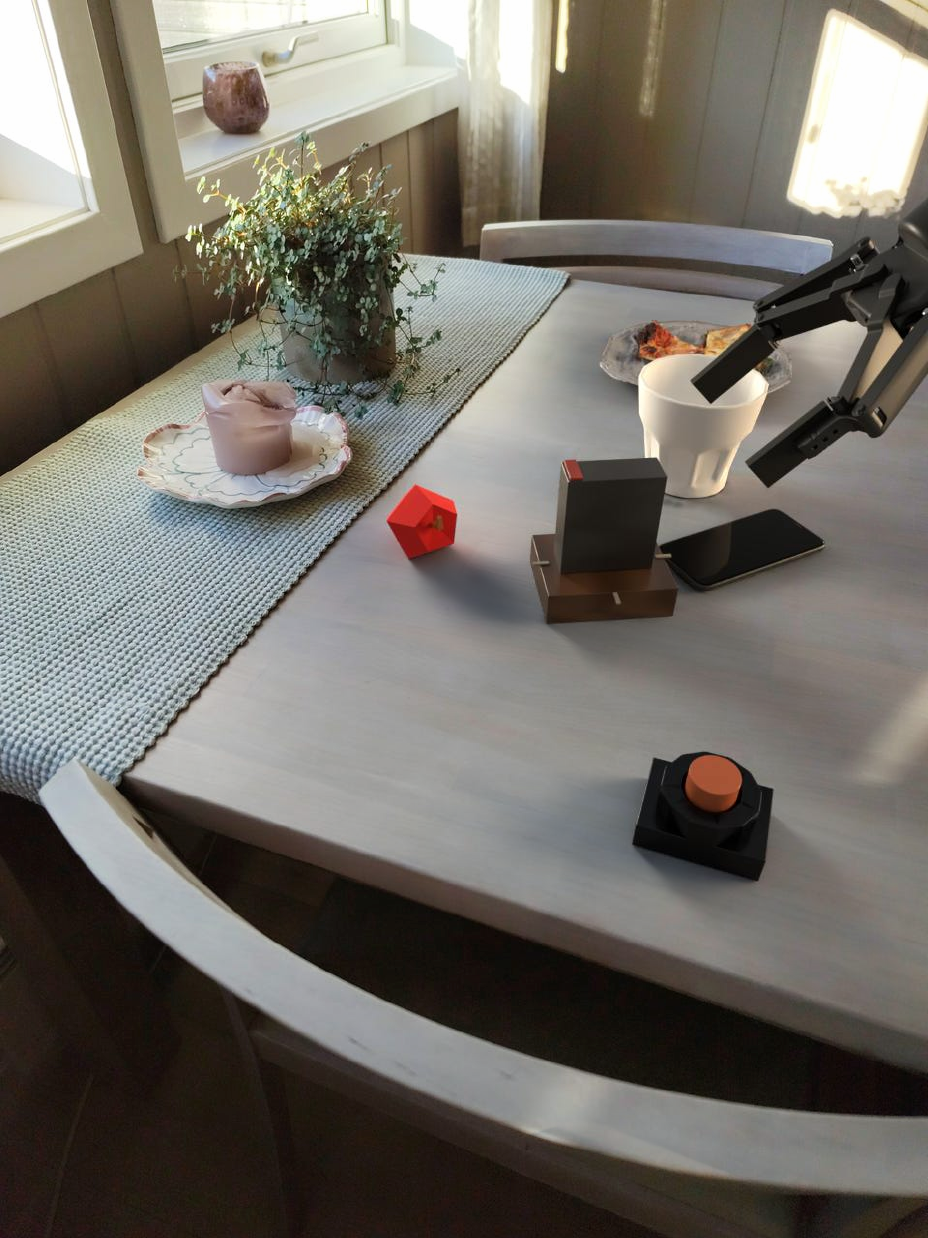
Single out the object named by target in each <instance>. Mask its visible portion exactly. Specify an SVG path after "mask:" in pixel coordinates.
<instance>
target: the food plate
mask: <svg viewBox="0 0 928 1238" xmlns="http://www.w3.org/2000/svg"><path fill="white" fill-rule="evenodd" d="M651 321H652V322H644V323H639V324H636V325H633V326H631V327H629V328H625V329H621V330H620V331H618V332H617V333H614V334H612V335H610V337H609V338H608V341H607V343H606V346H605V348H604V351H603V353H602V355H601V360H600V361H599V366H600V368H601V369H602V370H603V371H604V372H605V373H606V374H607V375H608V376H610V377H611V378H612V379H614V380H616V381H617V380H618V381H620V382H622V383H630V384H632V385H635V386H637V387H639V375H640V373H641V371H642V369H643V367H644V366H645V365H647V364H649V363H650V362H652V361H654V360H656V359H658V358H662V357H667V356H672V355H679V354H703V355H710V356H719V355H720V354H721V353H723V352H724V351H725V350H726V349H727V347H729V346H730V345H731V344H732V343H734V341H736V340H737V339H738V338H739V337H740V336H741V335H742V334H744V333H745V332H746V331H747V330H748V329H749V328H751V327H752V326H753V325H752V324H751V323H745V324H741V325H733V326H730V325H723V324H717V323H711V322H705V321H701V320H700V321H698V320H696V321H695V320H668V321H658V320H656V319H655V320H654V319H652V320H651ZM768 342H769V341H768ZM769 343H770V342H769ZM771 346H772V345H771ZM772 347H773V346H772ZM778 347H779V348H778V349H775V348H774V347H773V348H774V349H775V351H774V352H773V353H772V354H771V355H769V356H768V357H767V358H766V359H765V360H763V361H762V362H761V363H760V364H759V365H757V366H756V367H755V368H754V370H756V371H758V372H760V373H761V375H762V376H763V377H764V379H765V380H766V381H767V383H768V384H769V385H768V390H767V395H768V394H771V393H772V392H773V393H774V392H776V391H778V390H779V389H782V388H784V387H785V386H787V385H789V384H790V383H791V382H792V378H793V365H792V355H791V353H790V352H789V351H788V349H786V347H784V346H782V345H779V346H778Z"/></svg>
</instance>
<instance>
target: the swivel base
mask: <svg viewBox="0 0 928 1238" xmlns="http://www.w3.org/2000/svg"><path fill="white" fill-rule="evenodd" d="M554 542H555V533H544V534H542V533H541V534H531V539H530V556H529V563H530V567H531V571H532V575H533V579H534V582H535V586H536V590H537V595H538V597H539V601H540V605H541V609H542V612H543V617H544V620H545V623H546V625H550V624H564V623H565V624H566V623H580V622H581V623H582V622H597V621H613V620H627V619H629V620H630V619H643V618H658V617H659V618H661V617H672V616H674V612H675V607H676V602H677V598H678V593H679V586H678V585H677V583H676V580H675V578H674V576H673V574H672V571H671V569H670V566H669V565H668V564H667V563H666V561H665V559H664V558H671V554H662V552H661V550H660V548H659V543H658V542H657V541H656V547H655V553H654V558H653V564H652V568H643V569H627V570H610V571H593V572H576V573H560V571H559V568H558V564H557V561H556V558H555V554H554Z"/></svg>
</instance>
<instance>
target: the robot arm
mask: <svg viewBox="0 0 928 1238" xmlns="http://www.w3.org/2000/svg"><path fill="white" fill-rule="evenodd" d="M897 234H898V238H897V241H896V243H895V244H894V245H892V246H891V247H890V248H888V249H887V250H885V251H882V252H880V250H879V249H878V247H877V246H876V244H875V242H874V241H873V240H872V238H871V237H870V236H864V237H862V238H860V239H859V240H858V241H856V242H855V243H854V244H852V245H851V246H850V247H849V248H847V249H846V250H845V251H844V252H842V253H841V254H840V255H837V256H836V257H834V258H833V259H830V260H828V261H827V262H825V263H822V264H821V265H819V266H818V267H816V268H813V269H812V270H810V271H808V272H807V273H804V274H803V275H801V276H799V277H797V278H796V279H793V280H791V281H790V282H788V283H786V284H785V285H782V286H780V287H779V288H777V289H775V290H773V291H772V292H769V293H768V294H766V295H765V296H762V297H760V298H759V299H757V300H756V301H755V302H754V303H753V305H752V310H753V311H754V312H755V317H754V318H753V324H752V325H751V326H752V327H751V328H749V329H748V330H747V331H746V332H745V333H744V334H742V335H741V336H740V337H739V338H738V339H737V340H736V341H734V343H732V344H731V345H730V346H729V347H727V349H726V350H725V351H724V352H723V353H721V354H720V355H719V356H718V357H717V358H716V359H714V360H713V361H712V362H711V363H710V364H709V365H707V366H706V367H705V368H704V369H703V370H702V371H700V372H699V373H698V374H697V375H696V376H695V377H693V378H692V379H691V380H690V381H691V383H692V384H693V385H694V386H695V388H696V389H697V390H698V391H699V392H700V393H701V394H702V395H703V396H704V398H705V399H706V400H707V401H708V402H709V403H710V404H712V403H713V402H714V401H715V400H717V399H718V398H719V397H720V396H721V395H723V394H724V393H725V392H726V391H727V390H729V389H730V388H731V387H732V386H733V385H735V384H736V383H737V382H738V381H739V380H741V379H742V378H743V377H744V376H745V375H747V374H748V373H749V372H750V371H751V370H753V369H754V368H755V367H756V366H757V365H759V364H760V363H761V362H762V361H763V360H765V359H766V358H767V357H768V356H769V355H771V354H772V353H773V352H774V351H775V349H778V348H779V347H778V346H779V345H780V344H781V342H782V341H783V340H786V339H790V338H793V337H795V336H798V335H802V334H805V333H809V332H811V331H814V330H817V329H820V328H823V327H826V326H829V325H832V324H835V323H839V322H842V321H846V322H849V323H855V322H857V323H858V324H859V325H860V326H862V327H864V328H866V331H867V333H866V335H865V338H864V339H863V341H862V344H861V345H860V348H859V349H858V352H857V354H856V356H855V358H854V359H853V362H852V364H851V366H850V368H849V370H848V372H847V374H846V376H845V378H844V380H843V382H842V383H841V386H840V388H839V390H838V392H837V394H836V395H835V396H830V397H829V396H827V397H826V402H825V401H824V400H823V399H822V400H821V401H820V402H819V403H817V404H816V405H815V406H813V407H812V408H811V409H810V410H808V411H807V412H806V413H805V414H803V415H802V416H801V417H799V418H798V419H797V420H796V421H794V422H793V423H792V424H790V425H789V426H787V428H785V429H784V430H782V431H781V432H780V433H779V434H778V435H776V436H774V438H773V439H771V440H770V441H769V442H768V443H766V444H765V445H764V446H762V447H761V448H760V449H759V450H756V452H755V453H753V454H752V455H751V456H750V457H749V458H748V459H746V460H745V461H744V463H745V464H746V466H747V467H748V468H749V470H750V471H751V472H752V473H753V474H754V475H755V476H756V477H757V478H758V479H759V480H760V482H761V483H763V485H764V486H765V487H766V488H767V489H769V488H771V487H772V486H773V485H775V484H776V483H777V482H779V481H780V480H781V479H783V478H784V477H786V476H787V474H789V473H790V472H791V471H793V470H795V468H797V467H798V466H800V465H801V464H802V463H803V462H805V461H806V460H811V459H813V458H815V457H817V456H819V455H820V454H821V453H822V452H823V451H825V450H827V449H828V448H829V447H830V446H832V445H833V444H834V443H836V442H837V441H839V440H840V439H841V438H842V437H844V436H845V435H846V434H848V433H850V432H851V433H855V432H862V433H865V434H867V436H868V437H869V438H871V439H877V438H879V437H881V436H882V435H884V434H885V433H886V431H887V430H888V428H889V427H890V426H891V425H892V423H893V421H894V420H895V419H896V418H897V416H898V415H899V414H900V412H901V411H902V410H903V408H904V407H905V406H906V404H907V403H908V402H909V400H910V399H911V397H912V395H914V394H915V392H916V391H917V389H918V388H919V387H920V386H921V384H922V382H923V381H924V380H925V378H926V377H927V376H928V197H927V198H926V199H924V200H923V201H922V202H921V203H920V204H918V205H917V206H916V207H915V208H914V209H912V210H911V211H910V212H909V213H908V214H907V215H905V216H904V217H903V218H902V219H901V220H900V222H899V223H898V226H897ZM774 306H775V307H774ZM768 341H769V342H770V343H769V342H768ZM771 345H772V346H773V347H774V348H775V349H774V348H773V347H772V346H771ZM780 346H781V345H780ZM876 409H878V411H876Z"/></svg>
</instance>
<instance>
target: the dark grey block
mask: <svg viewBox="0 0 928 1238" xmlns="http://www.w3.org/2000/svg"><path fill="white" fill-rule="evenodd" d="M559 470H560V471H559V481H558V483H559V484H558V494H557V506H556V507H557V508H556V518H555V519H556V520H555V530H554V532H555V533H554V534H555V542H554V554H555V558H556V561H557V564H558V568H559V571H560V573H576V572H593V571H610V570H627V569H643V568H652V564H653V558H654V553H655V547H656V542H657V541H658V534H659V530H660V524H661V518H662V513H663V512H662V511H663V505H664V500H665V496H666V495H665V494H666V493H665V489H666V483H667V478H668V477H667V475H666V473H665V471H664V470H663V468H662V466H661V464H660V462H659V460H658V458H657V457H653V458H645V457H634V458H615V459H596V460H595V459H594V460H593V459H591V460H577V459H563V461H561V462H560V469H559Z"/></svg>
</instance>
